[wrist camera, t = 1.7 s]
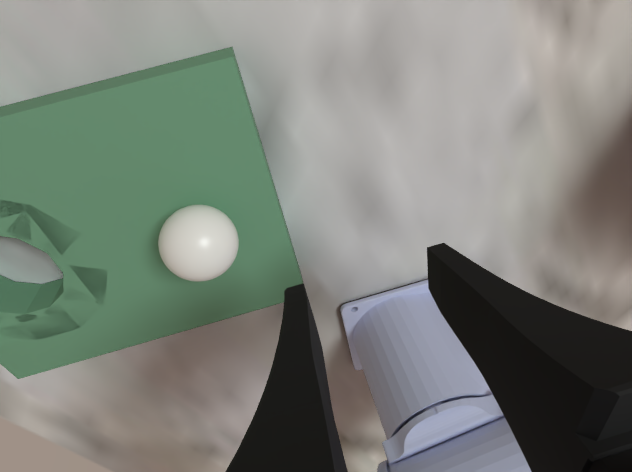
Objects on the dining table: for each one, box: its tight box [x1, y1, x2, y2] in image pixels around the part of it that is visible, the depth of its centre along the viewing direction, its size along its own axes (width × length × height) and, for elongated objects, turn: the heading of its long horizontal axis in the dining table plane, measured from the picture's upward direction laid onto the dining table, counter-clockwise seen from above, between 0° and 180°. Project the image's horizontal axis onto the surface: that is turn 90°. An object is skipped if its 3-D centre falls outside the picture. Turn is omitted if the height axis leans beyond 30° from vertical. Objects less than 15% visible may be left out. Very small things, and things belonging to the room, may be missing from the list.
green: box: [0, 47, 303, 379], centre depth 19 cm, size 18×14×5 cm
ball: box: [158, 205, 239, 282], centre depth 18 cm, size 4×4×4 cm
